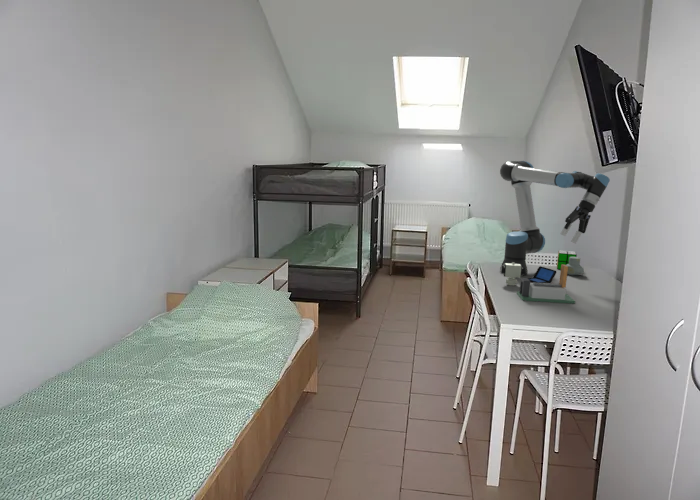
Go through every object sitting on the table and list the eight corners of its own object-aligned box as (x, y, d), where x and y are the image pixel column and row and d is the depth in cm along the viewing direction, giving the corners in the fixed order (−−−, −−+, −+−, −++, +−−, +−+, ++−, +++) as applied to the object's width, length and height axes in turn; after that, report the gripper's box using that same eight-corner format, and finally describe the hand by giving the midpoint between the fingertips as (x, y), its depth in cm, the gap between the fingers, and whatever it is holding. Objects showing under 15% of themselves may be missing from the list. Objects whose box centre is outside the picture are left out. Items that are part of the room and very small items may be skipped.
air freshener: (585, 275, 312) (587, 258, 310) (577, 277, 307) (579, 260, 305) (568, 271, 320) (570, 255, 319) (560, 273, 316) (562, 256, 314)
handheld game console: (523, 280, 296) (524, 267, 295) (538, 279, 301) (539, 265, 299) (540, 286, 285) (542, 272, 284) (555, 284, 290) (557, 270, 288)
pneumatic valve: (523, 286, 281) (525, 264, 278) (500, 285, 282) (502, 262, 280) (521, 284, 286) (524, 261, 284) (499, 282, 288) (501, 260, 286)
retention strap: (562, 285, 260) (564, 264, 258) (565, 287, 255) (568, 266, 253) (532, 283, 261) (534, 263, 259) (534, 285, 256) (537, 265, 254)
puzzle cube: (574, 267, 333) (575, 251, 331) (574, 271, 323) (576, 254, 321) (556, 266, 336) (558, 250, 334) (556, 269, 327) (558, 252, 325)
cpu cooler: (567, 296, 265) (569, 278, 263) (575, 303, 253) (577, 284, 251) (516, 293, 266) (518, 276, 265) (522, 300, 255) (524, 282, 253)
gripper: (586, 196, 270) (564, 234, 273) (604, 212, 287) (583, 248, 290) (572, 191, 276) (551, 229, 278) (591, 208, 293) (571, 242, 295)
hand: (568, 238), depth 284 cm, fingers open, 13 cm apart
